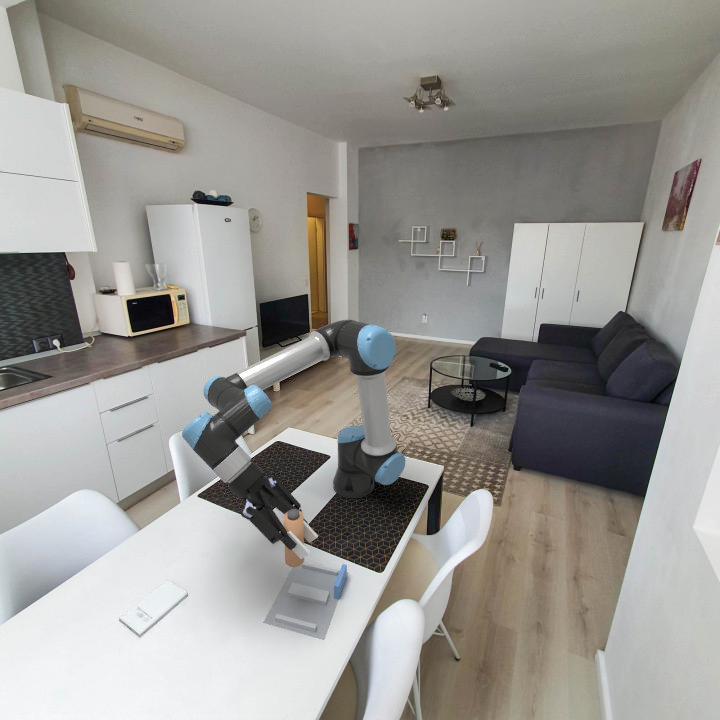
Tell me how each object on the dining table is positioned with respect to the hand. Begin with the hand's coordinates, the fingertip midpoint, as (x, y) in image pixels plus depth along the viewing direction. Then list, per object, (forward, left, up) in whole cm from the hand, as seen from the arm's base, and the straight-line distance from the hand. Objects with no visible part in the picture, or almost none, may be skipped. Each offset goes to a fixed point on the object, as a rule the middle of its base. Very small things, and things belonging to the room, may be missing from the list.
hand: (309, 547), depth 87 cm
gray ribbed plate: (-1, -4, -20) cm, 20 cm away
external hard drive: (+33, -20, -20) cm, 43 cm away
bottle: (+3, -3, -5) cm, 6 cm away
